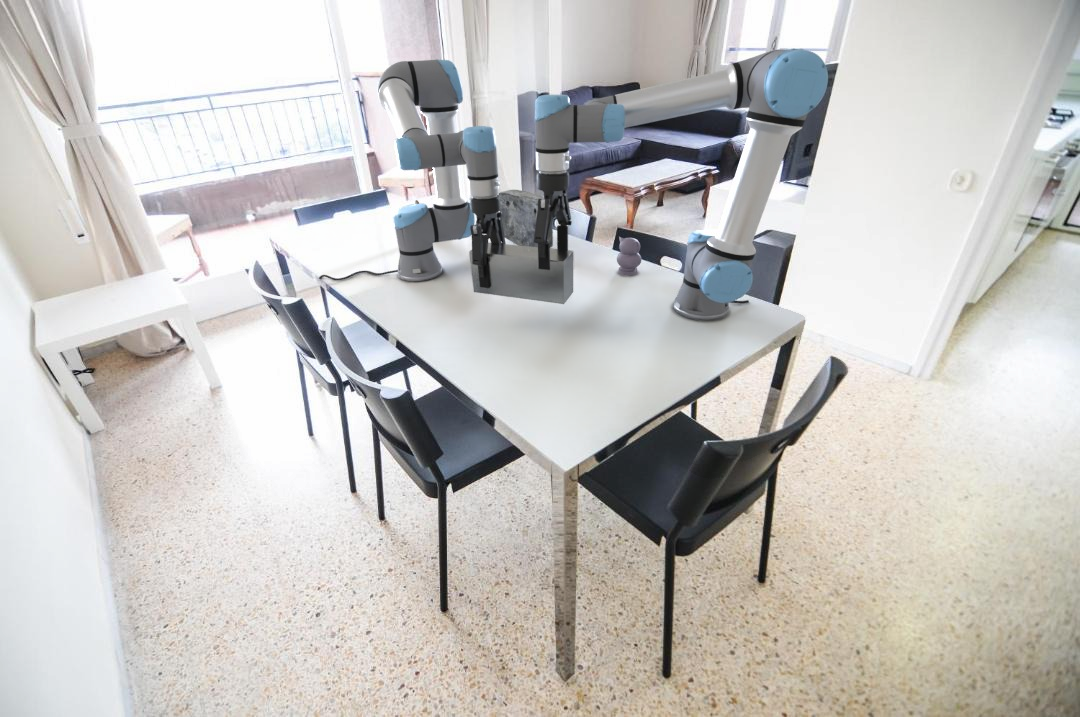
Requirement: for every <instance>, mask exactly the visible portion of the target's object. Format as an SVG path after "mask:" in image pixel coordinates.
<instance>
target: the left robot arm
mask: <svg viewBox="0 0 1080 717" xmlns="http://www.w3.org/2000/svg"><path fill="white" fill-rule="evenodd" d="M376 87H377V88H376V89H377V90H376V91H377V92H376V93H377V97H378V101H379V103H380V104H381V106H382V108H383V110H385V111H387V114H388V116H389V118H390V121H391V123H392V126H393V128H394V132H395V133H396V136H397V138H396V139H395V140H394V151H395V157H396V161H397V165H398V167H399V168H400V170H402V171H419V170H426V169H427V170H428V169H433V170H432V173H433V180H434V187H435V194H436V195H435V197H434V199H433V200H432V207H428V205H427V204H425V203H422V202H421V203H420V202H419V204H415V203H412V204H408V205H404V206H401V207H399V208H398V209H396V210H395V211H394V213H393V216H392V219H393V228H394V229H395V235H396V241H397V247H398V251H399V259H398V265H397V269H395V270H389V271H384V272H374V271H370V270H359V271H356V272H353V273H351V274H349V275H347V276H344V277H340V278H338V277H332V276H331V275H327V274H322V275H320V276H319V277H318V279H319V280H321V279H322V278H327V279H330V280H333V281H344V280H347V279H349V278H352V277H353V276H356V275H359V274H371V275H374V276H384V275H388V274H393V273H397V276H398V278H399V279H400V280H402V281H406V282H413V283H414V282H425V281H429V280H432V279H435V278H438V277H439V276H440V275H441V274H442V273H443V268H442V264H441V263H440V260H439V259H438V256H437V254H436V252H435V250H434V244H435V243H442V242H448V241H449V242H450V241H456V240H457V241H458V240H459V241H460V240H462V239H467V238H470V237H471V250H472V264H473V265H478V273H479V282H480V287H483V288H490V278H489V267H488V264H486V261H487V250H488V243H489V242H490V243H495V244H507V243H506V238H505V236H504V230H503V223H502V212H500V209H501V206H500V196H499V195H498V194H499V193H500V187H501V186H500V185H501V183H500V181H499V166H498V153H497V152H498V151H497V146H498V145H497V144H498V143H497V139H496V133H495V132H496V131H495V130H494V128H493V127H491V126H486V125H477V126H476V125H475V126H468V127H466V128H464V129H462V130H459V131H458V132H457V131H456V122H455V116H456V115H457V113H458V112H459V105H460V104H461V103H462V102H463V101H464V91H463V86H462V82H461V77H460V74H459V71H458V69H457V67H456V65H455V63H453V61H451V60H449V59H439V58H437V59H428V60H427V59H426V60H425V59H424V60H402V61H401V60H400V61H398V62H394V63H393V64H391V65H390V66H389V67H387V68H386V69H385V70H384V71H383V72H382V74H381V75H380V77H379V80H378V82H377V86H376ZM417 107H419V111H418V109H417ZM419 112H420V113H421V115H422V116H423V117H425V119H426V126H425V124H424V122H423V119H422V117H421V115H420V113H419ZM426 127H427V128H426ZM464 165H465V167H466V174H467V188H468V195H469V196H470V197H469V202H468V198H467V197H466V195H464V194H463V189H462V180H461V179H462V178H461V170H460V166H464ZM475 216H476V217H475ZM489 240H490V241H489Z"/></svg>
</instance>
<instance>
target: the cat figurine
mask: <svg viewBox="0 0 1080 717" xmlns="http://www.w3.org/2000/svg"><path fill="white" fill-rule="evenodd" d="M618 237H619V238H618V239H619V247H618V249H619V251H620V252H619V253H618V254H617V256H616V263H617V265H618V266H619V267H618V274H619V275H620V276H625V277H633V276H635V275H637V274H638V267H639V266H640V265H641V264H642V256H641V254H640V253H639V252H640V250H641V243H640V242H639V240H638V239H636V238H634V237H625V238H624V237H621V236H618Z"/></svg>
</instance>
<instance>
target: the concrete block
mask: <svg viewBox="0 0 1080 717" xmlns="http://www.w3.org/2000/svg"><path fill="white" fill-rule="evenodd" d="M497 195H499V196H500V206H501V209H500V211H499V212H502V223H503V230H504V236H505V240H508V241H510V242H511V243H513V244H514V245H519V246H529V247H538V243H534V234H535V227H536V219H537V212H538V199H543V197H544V195H540V194H538V193H534V192H530V191H526V190H519V189H507V190H504V191H501V192H500V191H499V193H498V194H497ZM553 224H554V222H552V226H551V231H550V235H549V240H548V243H550V248H552V247H553V246H554V230H553V229H554V228H553V227H554V226H553ZM541 238H542V237H541Z"/></svg>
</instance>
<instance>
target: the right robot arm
mask: <svg viewBox="0 0 1080 717" xmlns="http://www.w3.org/2000/svg"><path fill="white" fill-rule="evenodd" d="M828 82H829V72H828V68H827V66H826V63H825V61H824V60H823V59H822V57H821V56H820V55H819V54H818V53H816V52H813V51H811V50H808V49H804V48H790V49H773V50H769V51H766V52H763V53H760V54H758V55H754V56H752V57H749V58H747V59H743V60H739V61H736V62H731V63H728V64H727V66H726V67H725V68H724V70H723V69H722V70H719V71H715V72H710V73H706V74H700V75H697V76H691V77H688V78H683V79H680V80H679V79H678V80H674V81H670V82H666V83H661V84H656V85H653V86H648V87H644V88H639V89H635V90H631V91H630V90H629V91H626V92H622V93H618V94H614V95H607V96H604V97H593V98H590V99H588V100H586V101H585V102H584V103H583V104H571V101H570V97H569V95H567V94H542V95H539V96H538V97H536V99H535V100H534V135H535V169H536V171H537V173H536V188H537V189H538V190H539V191H542V192H543V196H544V197H543V199H538V212H537V219H536V227H535V234H534V243H538V266H539V269H544V270H550V249H551V247H550V243H548V240H549V235H550V231H551V226H552V222H553V221H554V218H556V220H557V224H558V225H556V241H557V242H556V249H560V250H569V226H572V222H573V221H572V215H571V209H570V202H569V197H568V189H569V187H570V172H569V171H568V170H569V169H570V161H571V160H572V156H570V144H575V143H576V144H577V143H605V144H609V143H616V142H621V141H622V140H623V139H624V135H625V129H626V128H630V127H631V128H632V127H635V126H640V125H645V124H649V123H654V122H659V121H663V120H669V119H673V118H678V117H682V116H683V117H684V116H688V115H693V114H697V113H701V112H707V111H711V110H712V111H713V110H716V109H721V108H727V110H729V111H733V110H739V109H748V110H747V114H746V116H745V120H746V122H747V124H748V127H749V130H748V133H747V137H746V140H745V144H744V146H743V150H742V153H741V155H740V159H739V162H738V165H737V168H736V171H735V174H734V178H733V180H732V184H731V186H730V190H729V193H728V196H727V199H726V202H725V206H724V208H723V210H722V211H723V212H722V213H721V214H722V215H721V218H720V221H719V224H718V227H717V229H698V230H693V231H692V232H691V233H689V235H688V238H687V239H688V240H687V244H686V245H687V246H686V255H685V264H684V272H683V280H682V284H681V286H680V288H679V290H678V292H677V294H676V296H675V298H674V301H673V310H674V312H675V313H676V314H678V315H679V316H681V317H683V318H685V319H689V320H693V321H700V322H709V321H717V320H720V319H723V318H725V317H726V316H728V314H729V309H730V304H738V305H739V304H743V305H744V304H748V303H749V302H750V300H749V299H747V300H739V299H741V298H742V297H744V296H745V295H746V294H747V293H748V292H749V290H750V289H751V287H752V286H753V280H754V276H753V270H752V269H751V266H752V263H753V261H754V259H755V256H756V253H757V249H756V248H755V245H754V244H753V243H754V242H753V241H754V238H755V236H756V233H757V231H758V228H759V225H760V224H761V219H762V218H763V214H764V211H765V209H766V206H767V203H768V200H769V197H770V195H771V192H772V189H773V187H774V184H775V181H776V179H777V176H778V173H779V171H780V168H781V165H782V162H783V159H784V156H785V154H786V151H787V149H788V146H789V143H790V140H791V139H792V138H791V137H792V136H793V135H794V134H796V133H797V132H799V131H800V130H802V129H803V128H804V124H805V121H806V119H807V116H808V114H809V113H810V112H811V111H813V109H815V108H816V107H817V106H818V105H819V104H820V102H822V99H823V98H824V96H825V94H826V92H827V88H828V84H829V83H828ZM553 223H554V222H553ZM541 237H542V238H541Z"/></svg>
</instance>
